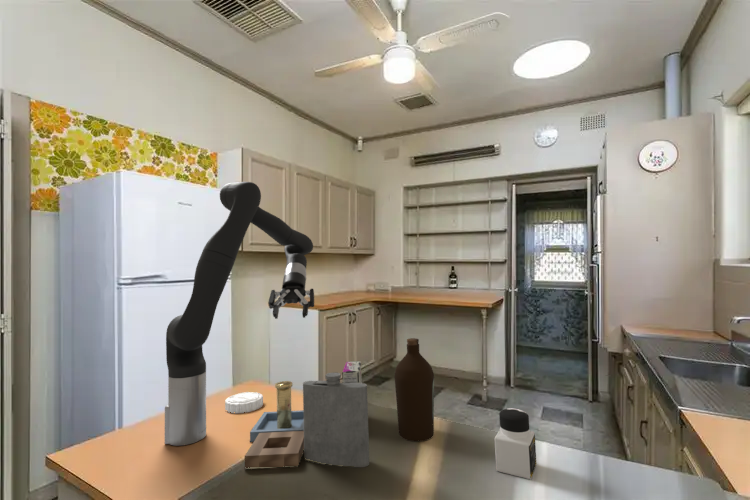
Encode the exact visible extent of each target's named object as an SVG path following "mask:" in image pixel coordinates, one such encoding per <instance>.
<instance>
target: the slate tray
mask: <svg viewBox="0 0 750 500" xmlns="http://www.w3.org/2000/svg"><path fill="white" fill-rule="evenodd" d="M291 413H292V427H291V428H287V429H277V411H264V412H263V413H262V414H261V416H260V417H259V419H258V420H257V422H256V423H255V424H254V426H253V427H252V429H251V430H250V432H249V442H250V443H253V442H254V441H255V439H256V437H257V436H258V434H259V433H269V432H290V431H304V415H303V409H302V410H291Z"/></svg>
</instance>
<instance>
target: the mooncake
mask: <svg viewBox="0 0 750 500" xmlns="http://www.w3.org/2000/svg"><path fill="white" fill-rule="evenodd" d="M224 402H225V403H224V411H225V410H227V411H228V412H227V411H226V412H227V413H230V412H231V413H230V414H245V413H250V412H254V411H256V410H258V409H259V410H260V408H262V407H263V405H264V396H263V394H262V393H260V392H257V391H255V392H252V391H250V392H249V391H245V392H239V393H236V394H232V395H230V396H228V397H227V398H226V399H225V400H224ZM234 412H235V413H234ZM244 412H245V413H244Z"/></svg>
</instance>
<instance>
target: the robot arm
mask: <svg viewBox="0 0 750 500" xmlns="http://www.w3.org/2000/svg"><path fill="white" fill-rule="evenodd" d="M219 199H220V203H221V204H222V206H223V207H224V208H225V209H226V210H228V211H230V212H229V214H228V216H227V217H226V220H225V221H224V223H223V224H222V225H221V226H220V228H219V229H218V230H217V231H216V232H215V233H214V234H212V236H211V237H210V238H209V239H208V241H207V242H206V243H205V245H204V247H203V249H202V252H201V254H200V256H199V259H198V262H197V263H196V267H195V272H194V279H193V285H192V286H193V288H192V292H191V296H190V298H189V301H188V303H187V305H186V308H185V310H184V311H183V314H180V315H178V316H175V317H174V318H173V319H172V320H171V321H170V322H169V324H168V325H167V328H166V331H165V332H166V333H165V344H166V345H165V349H166V351H165V353H166V355H165V356H166V366H167V372H168V374H167V375H168V378H167V379H168V383H167V384H168V386H167V387H168V389H167V390H168V393H167V395H168V397H167V398H168V399H167V403H168V404H166V405H165V407H164V444H166V445H170V446H177V447H178V446H186V445H190V444H194V443H197V442H199V441H201V440H202V439H204V438H205V437H206V435H207V363H206V362H207V361H206V359H205V357H204V353H203V345H204V344H205V343H206V341H207V340H208V338H209V335H210V333H211V328H212V324H213V322H214V318H215V313H216V309H217V306H218V304H219V301H220V299H221V296H222V294H223V292H224V290H225V286H226V285H227V282H228V279H229V277H230V274H231V272H232V270H233V267H234V265H235V261H236V259H237V256H238V253H239V251H240V248H241V246H242V244H243V241H244V238H245V236H246V233H247V231H248V229H249V227H250V225H251V224H252V225H254V226H256V227H257V228H258V229H260V230H261V231H262V232H264V233H265V234H267V235H268V236H269V237H270V238H272V239H273V240H274V241H275V242H276V243H277V244H279V245H280V246H283V247H284V248H283V249H284V253H285V258H286V265H285V270H284V274H283V277H282V278H283V280H282V286H281V290H279V291H276V290H275V289H271V291H270V295H269V299H268V301H267V302H268V307H269V309H272V316H273V318H274V319H276V320H277V319H278V317H279V314H280V313H279V312H280V309H281V307H284V306H285V305H286V304H298V303H299V304H300V306H302V318H304V319H306V317H308V316H309V314H308V313H309V308H314V307H315V291H314V288H310V289H309V290H306V284H307V283H306V282H307V267H308V266H307V265H308V262H307V261H308V260H307V257H306V256H307V255H308V254H310V253H312V252H313V250H314V243H313V241H312V239H311V238H310V237H309V236H307V235H306V234H304V233H302V232H299V231H297V230H296V229H294V228H292V227H291V226H289V224H288V223H286V222H285V221H284V220H282V219H281V218H280V217H278V216H276V215H274V214H273V213H270V212H268V211H266V210H265V209H263V208H261V207H260V204H261V200H262V194H261V190H260V187H259V186H258V185H257V184H256V183H254V182H251V181H238V182H237V181H235V182H229V183H226V184H225V185H223V186H222V187H221V189H220V192H219ZM305 255H306V256H305ZM306 296H307V297H308V298H309V300H307V299H306V298H305V297H306Z"/></svg>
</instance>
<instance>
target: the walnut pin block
mask: <svg viewBox="0 0 750 500" xmlns="http://www.w3.org/2000/svg"><path fill="white" fill-rule="evenodd" d="M281 447H284V448H281ZM303 449H304V431H290V432H269V433H259V434H258V436H257V437H256V439H255V441H254V442H252V444H251V446H250V447H249V449H248V450H247V452H246V453H245V455H244V468H245V467H246V468H248V467H249V468H250V467H283V466H284V467H285V466H298V465H299V466H300V464H299V462H300V463H301V461H300V459H301V460H302V458H301V456H302V457H303V455H302V453H303V454H304V452H303Z"/></svg>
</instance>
